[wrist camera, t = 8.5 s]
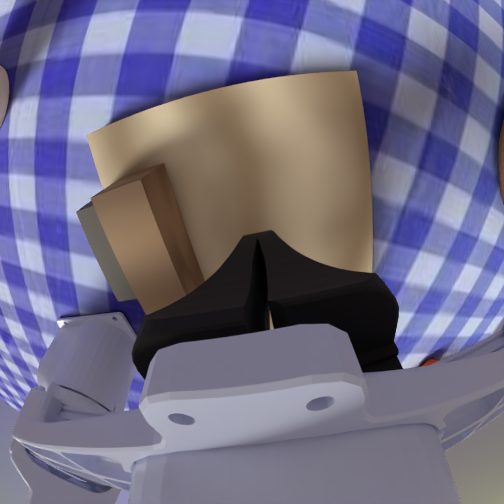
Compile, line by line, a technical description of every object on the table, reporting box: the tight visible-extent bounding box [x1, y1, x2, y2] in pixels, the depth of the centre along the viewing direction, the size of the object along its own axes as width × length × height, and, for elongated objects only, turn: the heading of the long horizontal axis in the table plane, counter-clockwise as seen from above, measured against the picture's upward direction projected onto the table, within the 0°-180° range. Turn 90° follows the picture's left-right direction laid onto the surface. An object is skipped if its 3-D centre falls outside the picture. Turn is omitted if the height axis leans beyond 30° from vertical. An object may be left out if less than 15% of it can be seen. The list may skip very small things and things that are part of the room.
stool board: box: [76, 71, 373, 330], centre depth 17 cm, size 17×18×6 cm
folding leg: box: [91, 163, 205, 315], centre depth 17 cm, size 14×3×4 cm, turn 13°
